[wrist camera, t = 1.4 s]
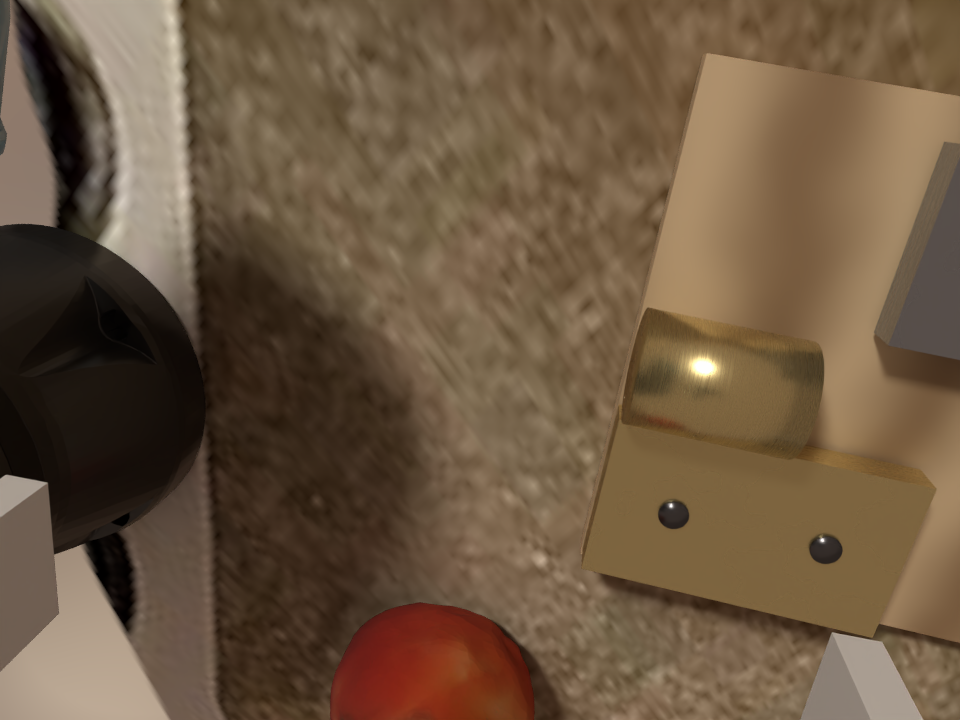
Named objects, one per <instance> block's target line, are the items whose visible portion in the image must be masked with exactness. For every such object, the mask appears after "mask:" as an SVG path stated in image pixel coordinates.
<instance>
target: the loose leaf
mask: <svg viewBox="0 0 960 720" xmlns="http://www.w3.org/2000/svg"><path fill="white" fill-rule="evenodd" d="M823 385H824V358H823V353H822V350H821V347H820V345H819V344H818V343H817V342H815V341H811V340H806V339H801V338H796V337H791V336H786V335H781V334H776V333H772V332H767V331H762V330H757V329H752V328H747V327H742V326H737V325H732V324H727V323H722V322H718V321H713V320H708V319H703V318H698V317H693V316H688V315H683V314H678V313H673V312H668V311H664V310H659V309H654V308H649V307H648V308H647V309H646V310H645V312H644V314H643V317H642V319H641V322H640V325H639V328H638V332H637V335H636V339H635V342H634V346H633V350H632V354H631V359H630V363H629V368H628V372H627V378H626V383H625V389H624V395H623V402H622V405H620V404H619V405H618V409H617V413H616V417H615V421H614V425H613V429H612V433H611V437H610V441H609V445H608V449H607V453H606V457H605V461H604V465H603V469H602V473H601V477H600V481H599V484H598V488H597V492H596V496H595V500H594V504H593V508H592V512H591V516H590V520H589V524H588V528H587V532H586V536H585V540H584V544H583V548H582V565H581V569H585V570H589V571H593V572H598V573H602V574H606V575H610V576H614V577H619V578H623V579H627V580H631V581H635V582H640V583H644V584H648V585H652V586H656V587H661V588H665V589H669V590H673V591H677V592H682V593H686V594H690V595H694V596H698V597H703V598H707V599H711V600H715V601H719V602H724V603H728V604H732V605H736V606H740V607H745V608H749V609H753V610H757V611H761V612H766V613H770V614H774V615H778V616H782V617H787V618H791V619H795V620H799V621H803V622H808V623H812V624H816V625H820V626H824V627H829V628H833V629H837V630H841V631H845V632H850V633H854V634H858V635H862V636H866V637H871V638H873V636H874V633H875V631H876V629H877V626H878V624H879V622H880V620H881V617H882V615H883V613H884V610H885V608H886V606H887V603H888V601H889V599H890V596H891V594H892V592H893V590H894V587H895V585H896V583H897V580H898V578H899V576H900V573H901V571H902V569H903V566H904V564H905V562H906V560H907V557H908V555H909V553H910V550H911V548H912V546H913V543H914V541H915V539H916V536H917V534H918V532H919V530H920V527H921V525H922V523H923V520H924V518H925V516H926V513H927V511H928V509H929V507H930V504H931V502H932V500H933V497H934V495H935V493H936V490H937V489H936V487H935V486H934V485H933V484H932V483H931V481H930V480H929V479H928V478H927V477H926V475H925V474H924V473H923V472H922V471H921V470H920V469H916V468H911V467H907V466H902V465H897V464H893V463H888V462H883V461H879V460H874V459H870V458H865V457H860V456H856V455H851V454H847V453H842V452H837V451H833V450H828V449H823V448H819V447H814V446H810V445H806V443H807V441H808V439H809V437H810V435H811V432H812V430H813V427H814V425H815V421H816V418H817V415H818V411H819V408H820V403H821V398H822V393H823Z"/></svg>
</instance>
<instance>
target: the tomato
mask: <svg viewBox="0 0 960 720" xmlns="http://www.w3.org/2000/svg"><path fill="white" fill-rule="evenodd" d="M330 719H331V720H534V695H533V688H532V685H531V679H530V674H529V671H528V668H527V666H526V664H525V662H524V660H523V658H522V656H521V652H520V649H519V648H518V646H517V645H516V644H515V643H514V642H513V641H512V640H511V639H509V638H508V637H506V636H505V635H504V634H503V632H502V631H501V629H500V628H499V627H498V626H497V625H496V624H495V623H493V622H492V621H491V620H489V619H488V618H486V617H484V616H481V615H479V614H476V613H473V612H471V611H468V610H465V609H461V608H457V607H453V606H443V605H434V604H427V603H421V602H419V603H414V604H409V605H403V606H399V607H395V608H392V609H389V610H386V611H384V612H382V613H380V614H378V615H376V616H374V617H373V618H371V619H370V620H369V621H367V622H366V623H365V624H364V625H363V626H362V627H360V628H359V630H358V631H357V632H356V633H355V635H354V636H353V638H352V640H351V642H350V644H349V646H348V648H347V650H346V651H345V653H344V656H343V658H342V660H341V662H340V664H339V666H338V668H337V670H336V672H335V675H334V679H333V683H332V687H331V698H330Z"/></svg>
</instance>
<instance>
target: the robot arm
mask: <svg viewBox="0 0 960 720" xmlns="http://www.w3.org/2000/svg"><path fill="white" fill-rule="evenodd" d="M9 26H10V1H9V0H0V113H1V104H2V94H3V83H4V74H5V64H6V54H7V45H8V35H9ZM6 135H7V133H6V131H5V129H4V126H3V124H2V121H1V118H0V155H1V154H2V153H3V152H4V148H5V144H6V137H7V136H6ZM204 422H205V396H204V388H203V381H202V377H201V372H200V368H199V365H198V362H197V358H196V356H195V353H194V350H193V348H192V345H191V343H190V341H189V339H188V336H187V334H186V332H185V331H184V329H183V327H182V325H181V323H180V322H179V320H178V318H177V317H176V315H175V313H174V312H173V311H172V309H171V308H170V306H169V305H168V303H167V302H166V301H165V300H164V298H163V297H162V296H161V295H160V293H159V292H158V291H157V290H156V289H155V288H154V287H153V286H152V284H151V283H150V282H149V281H148V280H147V279H146V278H145V277H144V276H143V275H142V274H140V273H139V272H138V271H137V270H136V269H135V268H134V267H132V266H131V265H130V264H129V263H127V262H126V261H125V260H123V259H122V258H121V257H119V256H118V255H116V254H115V253H113V252H112V251H110V250H108V249H107V248H105V247H103V246H102V245H100V244H98V243H96V242H94V241H92V240H90V239H88V238H85V237H83V236H80V235H78V234H75V233H72V232H69V231H66V230H63V229H59V228H55V227H50V226H44V225H34V224H12V225H4V226H0V671H1V670H2V669H3V668H4V667H5V666H6V665H7V664H8V663H9V662H10V661H11V660H12V659H13V658H14V657H15V656H16V655H17V654H18V653H19V652H20V651H21V650H22V649H23V648H24V647H25V646H26V645H27V644H28V643H29V642H31V640H33V639H34V638H35V637H36V636H37V635H38V634H39V633H40V632H41V631H42V630H43V629H44V628H45V627H46V626H47V625H48V624H49V623H50V622H51V621H52V620H53V619H54V618H55V617H56V616H57V615H58V613H59V611H58V610H59V609H58V597H57V587H56V586H57V585H56V574H55V563H54V554H57V553H60V552H63V551H65V550H68V549H71V548H74V547H77V546H79V545H82V544H84V543H86V542H88V541H90V540H95V539H99V538H102V537H105V536H107V535H110V534H113V533H115V532H118V531H120V530H122V529H124V528H126V527H128V526H130V525H131V524H133V523H135V522H136V521H138V520H139V519H141V518H142V517H143V516H145V515H146V514H147V513H148V512H150V511H151V510H152V509H153V508H154V507H155V506H156V505H157V504H159V503H160V502H161V501H162V500H163V499H164V498H165V497H166V496H167V495H169V494H170V493H171V492H172V491H173V490H174V489H175V488H176V487H177V486H178V485H179V483H180V482H181V481H182V480H183V479H184V477H185V476H186V474H187V473H188V471H189V469H190V468H191V466H192V464H193V462H194V460H195V458H196V455H197V453H198V450H199V447H200V444H201V440H202V436H203V430H204ZM800 720H923V719H922V717H921V715H920V713H919V711H918V709H917V707H916V705H915V704H914V702H913V700H912V698H911V696H910V694H909V692H908V690H907V688H906V686H905V685H904V683H903V681H902V679H901V677H900V675H899V673H898V671H897V669H896V667H895V666H894V664H893V662H892V660H891V658H890V656H889V654H888V652H887V650H886V648H885V647H884V645H883V643H882V642H880V641H874V640H869V639H864V638H859V637H854V636H848V635H843V634H838V633H833V632H832V633H831V636H830V639H829V642H828V645H827V647H826V650H825V653H824V656H823V658H822V661H821V664H820V667H819V669H818V672H817V675H816V678H815V681H814V683H813V686H812V689H811V692H810V694H809V697H808V700H807V703H806V706H805V708H804V711H803V714H802V717H801V719H800Z"/></svg>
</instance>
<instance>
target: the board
mask: <svg viewBox="0 0 960 720" xmlns="http://www.w3.org/2000/svg"><path fill="white" fill-rule="evenodd" d="M944 142H951V143H958V144H960V96H954V95H949V94H943V93H937V92H931V91H925V90H919V89H914V88H908V87H902V86H896V85H890V84H884V83H879V82H873V81H867V80H861V79H855V78H849V77H843V76H838V75H832V74H826V73H820V72H814V71H808V70H803V69H797V68H791V67H785V66H779V65H773V64H767V63H762V62H756V61H750V60H744V59H738V58H732V57H727V56H721V55H715V54H709V53H706V54H704V55H703V56H702V60H701V64H700V68H699V72H698V76H697V80H696V84H695V88H694V92H693V96H692V100H691V104H690V108H689V112H688V116H687V120H686V124H685V128H684V132H683V136H682V140H681V144H680V148H679V152H678V156H677V160H676V164H675V168H674V172H673V176H672V180H671V184H670V188H669V192H668V196H667V200H666V203H665V207H664V211H663V215H662V219H661V223H660V227H659V231H658V235H657V239H656V243H655V247H654V251H653V255H652V259H651V263H650V267H649V271H648V275H647V279H646V283H645V287H644V291H643V295H642V299H641V303H640V307H639V311H638V315H637V319H636V323H635V327H634V331H633V335H632V339H631V343H630V347H629V351H628V355H627V359H626V363H625V367H624V371H623V375H622V379H621V383H620V387H619V391H618V395H617V399H616V403H615V407H614V411H613V414H612V418H611V422H610V426H609V430H608V434H607V438H606V442H605V446H604V450H603V454H602V458H601V462H600V466H599V470H598V474H597V478H596V482H595V486H594V490H593V494H592V498H591V502H590V506H589V510H588V514H587V518H586V522H585V526H584V530H583V534H582V538H581V551H580V553H582V548H583V544H584V540H585V536H586V532H587V528H588V524H589V520H590V516H591V512H592V508H593V504H594V500H595V496H596V492H597V488H598V484H599V481H600V477H601V473H602V469H603V465H604V461H605V457H606V453H607V449H608V445H609V441H610V437H611V433H612V429H613V425H614V421H615V417H616V413H617V409H618V405H619V404H620V405H622V402H623V395H624V389H625V383H626V378H627V372H628V368H629V363H630V359H631V354H632V350H633V346H634V342H635V339H636V335H637V332H638V328H639V325H640V322H641V319H642V317H643V314H644V312H645V310H646V309H647V308H648V307H649V308H654V309H659V310H664V311H668V312H673V313H678V314H683V315H688V316H693V317H698V318H703V319H708V320H713V321H718V322H722V323H727V324H732V325H737V326H742V327H747V328H752V329H757V330H762V331H767V332H772V333H776V334H781V335H786V336H791V337H796V338H801V339H806V340H811V341H815V342H817V343H818V344H819V345H820V347H821V350H822V353H823V358H824V385H823V393H822V398H821V403H820V408H819V411H818V415H817V418H816V421H815V425H814V427H813V430H812V432H811V435H810V437H809V439H808V441H807V443H806V445H810V446H814V447H819V448H823V449H828V450H833V451H837V452H842V453H847V454H851V455H856V456H860V457H865V458H870V459H874V460H879V461H883V462H888V463H893V464H897V465H902V466H907V467H911V468H916V469H920V470H921V471H922V472H923V473H924V474H925V475H926V477H927V478H928V479H929V480H930V481H931V483H932V484H933V485H934V486H935V487H936V489H937V490H936V493H935V495H934V497H933V500H932V502H931V504H930V507H929V509H928V511H927V513H926V516H925V518H924V520H923V523H922V525H921V527H920V530H919V532H918V534H917V536H916V539H915V541H914V543H913V546H912V548H911V550H910V553H909V555H908V557H907V560H906V562H905V564H904V566H903V569H902V571H901V573H900V576H899V578H898V580H897V583H896V585H895V587H894V590H893V592H892V594H891V596H890V599H889V601H888V603H887V606H886V608H885V610H884V613H883V615H882V617H881V620H880V622H879V624H882V625H887V626H891V627H895V628H899V629H904V630H908V631H912V632H916V633H920V634H925V635H929V636H933V637H937V638H942V639H946V640H950V641H954V642H959V643H960V360H957V359H952V358H947V357H942V356H937V355H932V354H927V353H923V352H918V351H913V350H908V349H903V348H898V347H893V346H888V345H887V344H886V343H885V342H884V341H883V340H882V339H880V338H879V337H878V336H877V335H876V334H875V333H874V330H875V328H876V325H877V322H878V320H879V317H880V314H881V311H882V309H883V306H884V303H885V301H886V298H887V295H888V292H889V290H890V287H891V284H892V282H893V279H894V276H895V274H896V271H897V268H898V265H899V263H900V260H901V257H902V255H903V252H904V249H905V246H906V244H907V241H908V238H909V236H910V233H911V230H912V227H913V225H914V222H915V219H916V217H917V214H918V211H919V209H920V206H921V203H922V200H923V198H924V195H925V192H926V190H927V187H928V184H929V181H930V179H931V176H932V173H933V171H934V168H935V165H936V162H937V160H938V157H939V154H940V152H941V149H942V146H943V144H944Z"/></svg>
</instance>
